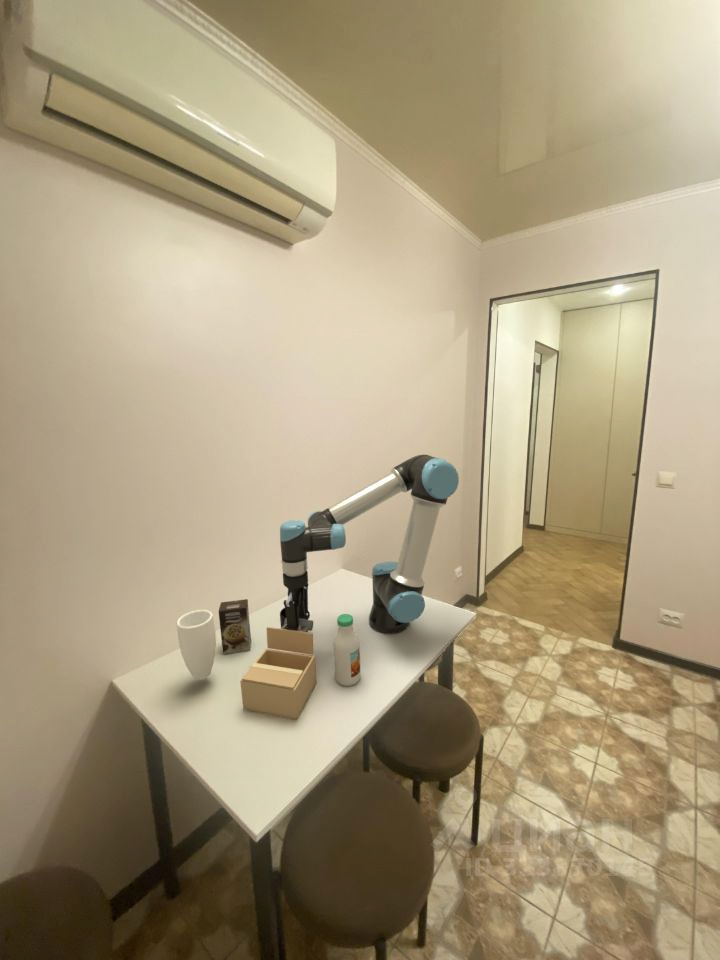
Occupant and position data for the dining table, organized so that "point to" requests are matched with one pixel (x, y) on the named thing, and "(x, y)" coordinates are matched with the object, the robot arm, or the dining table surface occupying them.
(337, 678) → the milk bottle
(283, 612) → the mug
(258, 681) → the carton
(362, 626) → the dining table surface
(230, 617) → the coffee box
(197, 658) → the cup
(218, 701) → the dining table surface
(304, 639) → the flap near
